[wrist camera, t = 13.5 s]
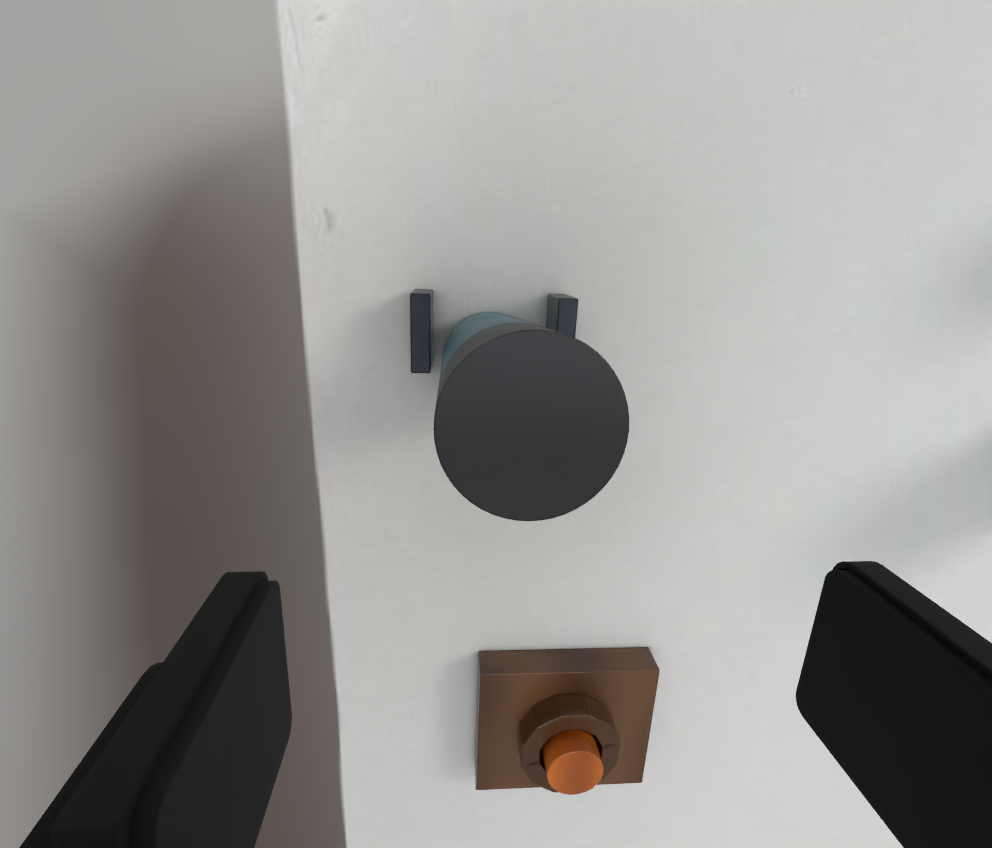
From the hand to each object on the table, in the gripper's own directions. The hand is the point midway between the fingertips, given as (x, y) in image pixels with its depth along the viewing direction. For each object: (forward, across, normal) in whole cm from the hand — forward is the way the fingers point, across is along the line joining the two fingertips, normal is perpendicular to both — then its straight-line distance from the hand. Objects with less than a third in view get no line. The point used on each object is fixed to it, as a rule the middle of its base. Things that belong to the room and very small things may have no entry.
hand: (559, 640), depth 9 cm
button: (+20, -7, +25) cm, 32 cm away
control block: (+23, -7, +25) cm, 35 cm away
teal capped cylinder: (+15, 0, -4) cm, 15 cm away
